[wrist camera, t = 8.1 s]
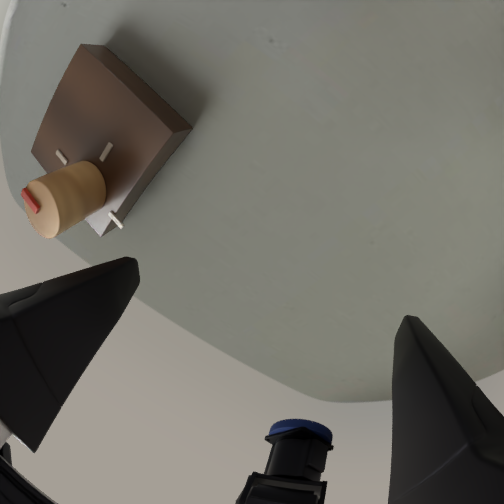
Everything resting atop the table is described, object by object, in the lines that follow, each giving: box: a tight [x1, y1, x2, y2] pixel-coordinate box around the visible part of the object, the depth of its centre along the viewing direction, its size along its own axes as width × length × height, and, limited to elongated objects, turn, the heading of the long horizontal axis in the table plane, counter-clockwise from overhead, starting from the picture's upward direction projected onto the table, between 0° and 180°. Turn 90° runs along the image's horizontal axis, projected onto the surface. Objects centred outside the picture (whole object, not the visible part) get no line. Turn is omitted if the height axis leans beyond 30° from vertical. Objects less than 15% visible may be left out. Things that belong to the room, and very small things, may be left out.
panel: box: [31, 44, 193, 237], centre depth 19 cm, size 12×11×3 cm
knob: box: [21, 161, 106, 239], centre depth 17 cm, size 4×4×5 cm
